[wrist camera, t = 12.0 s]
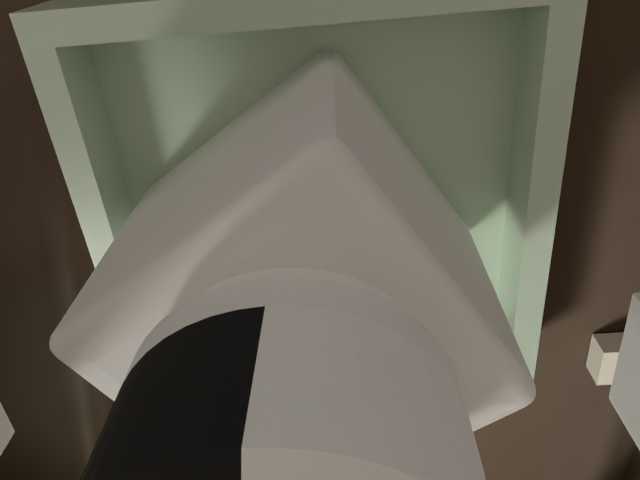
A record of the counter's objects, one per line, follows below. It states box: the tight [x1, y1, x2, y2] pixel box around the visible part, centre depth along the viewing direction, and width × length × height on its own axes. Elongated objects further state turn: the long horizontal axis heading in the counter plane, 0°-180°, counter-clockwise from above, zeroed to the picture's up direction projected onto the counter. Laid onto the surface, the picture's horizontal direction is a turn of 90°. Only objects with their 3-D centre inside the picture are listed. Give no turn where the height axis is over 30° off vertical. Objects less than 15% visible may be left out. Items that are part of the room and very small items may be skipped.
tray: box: [9, 0, 588, 381], centre depth 17 cm, size 13×13×2 cm
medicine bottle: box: [49, 49, 536, 480], centre depth 12 cm, size 7×7×12 cm
